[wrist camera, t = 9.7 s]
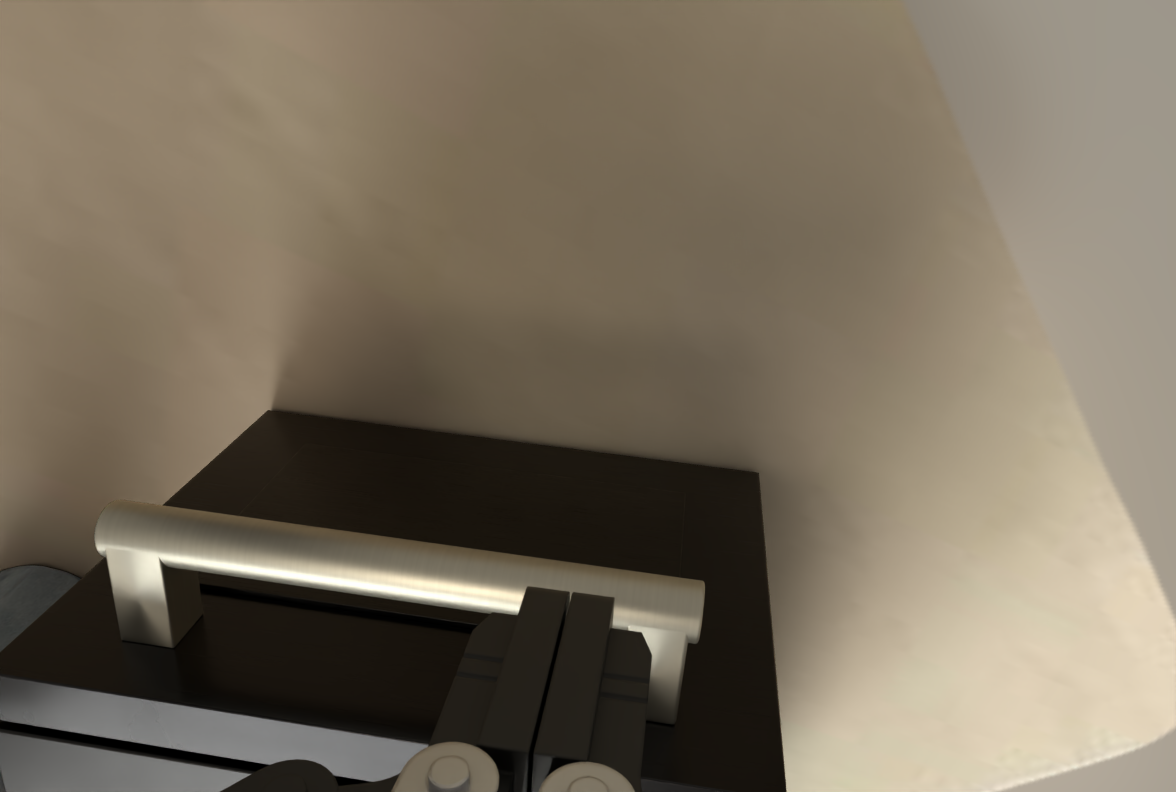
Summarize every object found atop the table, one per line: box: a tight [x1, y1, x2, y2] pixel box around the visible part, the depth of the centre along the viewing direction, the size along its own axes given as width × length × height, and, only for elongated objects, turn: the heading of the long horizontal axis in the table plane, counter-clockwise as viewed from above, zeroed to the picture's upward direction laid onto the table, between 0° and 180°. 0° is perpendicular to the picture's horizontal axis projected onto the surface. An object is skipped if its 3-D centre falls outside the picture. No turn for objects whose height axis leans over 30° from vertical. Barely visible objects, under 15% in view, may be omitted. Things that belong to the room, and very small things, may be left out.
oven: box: [0, 721, 368, 792], centre depth 32 cm, size 16×20×16 cm
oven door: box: [0, 410, 787, 792], centre depth 28 cm, size 5×20×16 cm, turn 86°
